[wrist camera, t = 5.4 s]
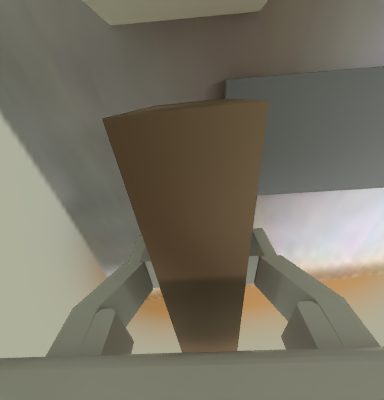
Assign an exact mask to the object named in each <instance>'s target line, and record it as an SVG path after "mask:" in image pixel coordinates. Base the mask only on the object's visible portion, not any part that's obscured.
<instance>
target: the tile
mask: <svg viewBox="0 0 384 400" xmlns="http://www.w3.org/2000/svg"><path fill="white" fill-rule="evenodd" d="M82 1H83V2H84V3H85V4H86V5H87V6H89V7H90V8H91V9H92V10H93V11H94V12H95V13H96V14H98V15H99V16H100V17H101V18H102V19H103V20H104V21H105V22H107V23H108V24H109V25H110V26H111V25H122V24H132V23H143V22H153V21H164V20H174V19H184V18H195V17H205V16H216V15H226V14H237V13H247V12H258V11H260V10H261V9H262V7H263V6H264V5H265V4H266V2H267V1H268V0H82Z"/></svg>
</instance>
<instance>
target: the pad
mask: <svg viewBox="0 0 384 400" xmlns="http://www.w3.org/2000/svg"><path fill="white" fill-rule="evenodd" d="M224 99H244V100H265V101H269V105H268V113H267V121H266V129H265V136H264V144H263V152H262V160H261V168H260V175H259V183H258V191H257V195H269V194H286V193H302V192H318V191H335V190H351V189H367V188H383V187H384V66H382V67H370V68H358V69H346V70H334V71H322V72H310V73H298V74H286V75H274V76H262V77H250V78H238V79H227V80H225V93H224Z"/></svg>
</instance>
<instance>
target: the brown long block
mask: <svg viewBox="0 0 384 400" xmlns="http://www.w3.org/2000/svg"><path fill="white" fill-rule="evenodd" d="M268 105H269V101H265V100H244V99H215V100H206V101H197V102H188V103H179V104H170V105H160V106H153V107H148V108H144V109H140V110H136V111H132V112H128V113H124V114H120V115H115V116H111V117H107V118H103V122H104V125H105V128H106V131H107V134H108V137H109V140H110V143H111V146H112V149H113V152H114V155H115V157H116V160H117V163H118V166H119V169H120V172H121V175H122V178H123V181H124V184H125V187H126V190H127V193H128V195H129V198H130V201H131V204H132V207H133V210H134V213H135V216H136V219H137V222H138V225H139V228H140V231H141V233H142V236H143V239H144V242H145V245H146V248H147V251H148V254H149V257H150V260H151V263H152V266H153V269H154V271H155V274H156V277H157V280H158V283H159V286H160V289H161V292H162V295H163V298H164V301H165V304H166V307H167V309H168V312H169V315H170V318H171V321H172V324H173V327H174V330H175V333H176V336H177V338H178V342H179V344H180V347H181V350H182V353H189V352H222V351H237V347H238V339H239V331H240V323H241V316H242V307H243V300H244V292H245V285H246V277H247V269H248V261H249V253H250V246H251V238H252V230H253V222H254V214H255V207H256V199H257V191H258V183H259V175H260V168H261V160H262V152H263V144H264V136H265V129H266V121H267V113H268Z"/></svg>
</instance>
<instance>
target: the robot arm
mask: <svg viewBox="0 0 384 400" xmlns="http://www.w3.org/2000/svg"><path fill="white" fill-rule="evenodd" d="M246 283H255V285H256V287H257V288H258V289H259V290H260V291H261V292H262V293H263V294H264V295H265V296H266V298H267V299H268V300H269V301H270V302H271V303H272V304H273V305H274V306H275V307H276V308H277V310H278V311H279V312H280V313H281V314H282V315H283V316H284V317H285V318H286V320H287V321H288V324H287V326H286V328H285V330H284V332H283V334H282V340H283V342H284V345H285V348H286V350H255V351H222V352H189V353H159V354H158V353H157V354H131V351H132V347H133V343H134V341H133V339H132V337H131V336H130V334H129V332H128V331H127V330H126V326H127V325H128V323H129V322H130V321H131V319H132V318H133V316H134V315H135V313H136V312H137V311H138V309H139V308H140V306H141V305H142V304H143V302H144V301H145V300H146V298H147V297H148V295H149V294H150V293H151V291H152V290H153V288H158V287H160V286H159V283H158V280H157V277H156V274H155V271H154V269H153V266H152V263H151V260H150V257H149V254H148V251H147V248H146V245H145V242H144V239H143V236H142V235H140V236H139V237H138V238H137V241H136V243H135V246H134V248H133V251H132V254H131V256H130V259H129V261H128V263H124V264H123V265H122V266H121V267H120V268H119V269H117V270H116V271H115V272H114V273H113V274H112V275H111V276H109V277H108V278H107V279H106V280H105V281H104V282H103V283H101V284H100V285H99V286H98V287H97V288H96V289H95V290H93V291H92V292H91V293H90V294H89V295H88V296H87V297H86V298H84V299H83V300H82V301H81V302H80V303H79V304H78V305H76V306H75V307H74V308H73V309H72V311H71V312H70V314H69V316H68V318H67V319H66V321H65V323H64V325H63V327H62V329H61V330H60V332H59V334H58V335H57V337H56V339H55V341H54V342H53V344H52V346H51V348H50V350H49V351H48V353H47V355H46V357H25V358H0V400H384V347H381V346H380V345H379V344H378V342H377V341H376V340H375V339H374V337H373V336H372V334H371V333H370V332H369V330H368V329H367V328H366V326H365V325H364V324H363V322H362V321H361V320H360V318H359V317H358V316H357V315H356V313H355V312H354V311H353V309H352V308H351V307H350V305H349V304H348V303H347V301H346V300H345V299H344V298H343V297H341V296H340V295H339V294H337V293H336V292H334V291H333V290H331V289H330V288H328V287H327V286H325V285H324V284H322V283H321V282H319V281H318V280H317V279H315V278H314V277H312V276H311V275H309V274H308V273H306V272H305V271H303V270H302V269H300V268H299V267H297V266H296V265H294V264H293V263H291V262H290V261H289V260H287V259H286V258H284V257H283V256H281V255H277V254H276V252H275V250H274V248H273V247H272V245H271V243H270V241H269V239H268V238H267V236H266V234H265V232H264V230H263V229H262V228H256V229H253V230H252V238H251V246H250V253H249V261H248V269H247V277H246Z"/></svg>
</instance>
